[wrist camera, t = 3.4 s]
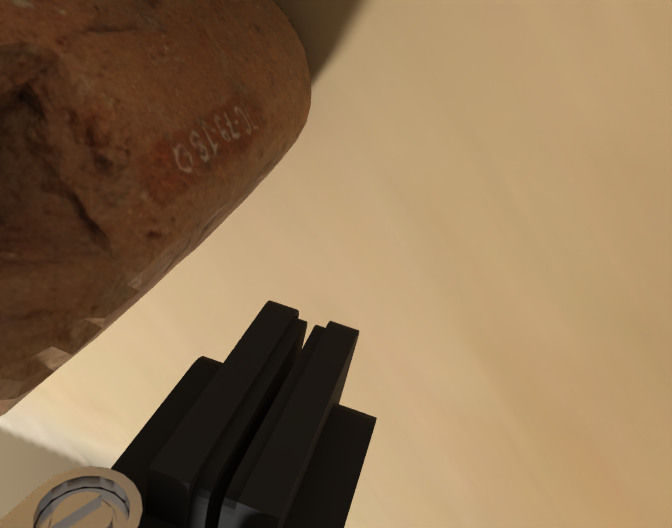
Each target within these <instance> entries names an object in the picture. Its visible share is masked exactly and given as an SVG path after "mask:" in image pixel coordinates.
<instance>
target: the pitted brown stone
mask: <svg viewBox="0 0 672 528" xmlns="http://www.w3.org/2000/svg"><path fill="white" fill-rule="evenodd" d="M310 104H311V84H310V72H309V68H308V64H307V61H306V52H305V49H304V47H303V45H302V43H301V40H300V38H299V37H298V35H297V33H296V32H295V30H294V28H293V27H292V25H291V23H290V22H289V20H288V18H287V17H286V15H285V14H284V12H283V11H282V10H281V9H280V8H279V7H278V6H277V5H276V3H275V2H274V1H273V0H0V416H2V415H4V414H5V413H7V412H8V411H9V410H10V409H11V408H12V407H14V406H15V405H16V404H17V403H18V402H19V401H21V400H22V399H23V398H24V397H25V396H26V395H28V394H29V393H30V392H31V391H32V390H33V389H35V388H36V387H37V386H38V385H39V384H40V383H42V382H43V381H44V380H45V379H46V378H47V377H49V376H50V375H51V374H52V373H53V372H55V371H56V370H57V369H58V368H59V367H61V366H62V365H63V364H64V363H66V362H67V361H68V360H69V359H71V358H72V357H73V356H74V355H76V354H77V353H78V352H79V351H81V350H82V349H83V348H84V347H85V346H87V345H88V344H89V343H90V342H92V341H93V340H94V339H95V338H97V337H98V336H99V335H100V334H101V333H102V332H103V331H104V330H106V329H107V328H108V327H109V326H110V325H111V324H112V323H113V322H115V321H116V320H117V319H118V318H119V317H120V316H121V315H122V314H124V313H125V312H126V311H127V310H128V309H129V308H130V307H131V306H133V305H134V304H135V303H136V302H137V301H138V300H139V299H140V298H142V297H143V296H144V295H145V294H146V293H147V292H148V291H149V290H151V289H152V288H153V287H154V286H155V285H156V284H157V283H158V282H159V281H160V280H161V279H162V278H163V277H164V276H165V275H166V274H167V273H168V272H170V271H171V270H172V269H173V268H174V267H175V266H176V265H177V264H178V263H179V262H181V261H182V260H183V259H184V258H185V257H186V256H188V255H189V254H190V253H191V252H192V251H194V250H195V249H196V248H197V247H198V246H199V245H200V244H201V243H202V242H203V241H204V240H205V239H206V238H207V237H208V236H209V235H210V234H211V233H212V232H213V231H214V230H215V229H216V228H217V227H218V226H219V225H220V224H221V223H222V222H223V221H224V220H225V219H226V218H227V217H228V216H229V215H230V214H231V213H232V212H233V211H234V210H235V209H236V208H237V207H238V206H239V205H240V204H241V203H242V202H243V201H244V200H245V199H246V198H247V197H248V196H249V195H250V194H251V193H252V192H253V190H254V189H255V188H256V187H257V186H258V185H259V183H260V182H261V181H262V180H263V179H264V178H265V177H266V176H267V175H268V174H269V173H270V172H271V171H272V170H273V168H274V167H275V166H276V165H277V164H278V163H279V161H280V160H281V159H282V158H283V157H284V155H285V154H286V153H287V152H288V150H289V149H290V148H291V147H292V145H293V144H294V143H295V142H296V140H297V138H298V137H299V135H300V133H301V131H302V129H303V128H304V126H305V124H306V121H307V117H308V113H309V109H310Z"/></svg>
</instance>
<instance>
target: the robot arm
mask: <svg viewBox="0 0 672 528" xmlns="http://www.w3.org/2000/svg"><path fill="white" fill-rule="evenodd" d="M298 317H299V311H298V310H297V309H294V308H291V307H288V306H285V305H282V304H279V303H276V302H273V301H268V302H267V303H266V304H265V305H264V307H263V308H262V310H261V311H260V312H259V314H258V315H257V317H256V318H255V319H254V321H253V322H252V324H251V325H250V326H249V328H248V329H247V331H246V332H245V333H244V335H243V336H242V338H241V339H240V340H239V342H238V343H237V345H236V346H235V347H234V349H233V350H232V352H231V353H230V354H229V356H228V357H227V359H226V360H225V361H224V363H221V362H218V361H216V360H213V359H210V358H207V357H204V356H202V357H200V358H198V359H197V360H196V361H195V362H194V363H193V365H192V366H191V367H190V368H189V370H188V371H187V372H186V373H185V375H184V376H183V377H182V379H181V380H180V381H179V382H178V384H177V385H176V386H175V387H174V389H173V390H172V391H171V393H170V394H169V395H168V396H167V398H166V399H165V400H164V402H163V403H162V404H161V405H160V407H159V408H158V409H157V410H156V412H155V413H154V414H153V416H152V417H151V418H150V419H149V421H148V422H147V423H146V424H145V426H144V427H143V428H142V430H141V431H140V432H139V433H138V435H137V436H136V437H135V438H134V440H133V441H132V442H131V444H130V445H129V446H128V447H127V449H126V450H125V451H124V452H123V454H122V455H121V456H120V458H119V459H118V460H117V461H116V463H115V464H114V465H113V466H112V468H111V469H109V468H103V467H92V466H89V467H82V468H75V469H71V470H68V471H66V472H63V473H61V474H58V475H55V476H54V477H52V478H51V479H49V480H48V481H46V482H45V483H43V484H42V485H40V486H39V487H38V488H37V489H35V491H33V492H32V493H31V494H30V495H29V496H27V497H26V498H25V499H24V500H23V501H22V502H21V503H19V504H18V505H17V506H16V507H15V508H14V509H13V510H12V511H10V512H9V513H8V514H7V515H6V516H5V517H3V518H2V519H1V520H0V528H344V526H345V522H346V519H347V516H348V512H349V509H350V506H351V502H352V499H353V496H354V493H355V489H356V486H357V483H358V479H359V476H360V473H361V469H362V466H363V463H364V459H365V456H366V453H367V449H368V446H369V443H370V440H371V436H372V433H373V430H374V426H375V423H376V419H377V418H376V417H373V416H370V415H367V414H365V413H362V412H359V411H356V410H353V409H351V408H348V407H345V406H342V405H339V402H340V398H341V395H342V391H343V388H344V384H345V381H346V377H347V374H348V370H349V367H350V363H351V360H352V356H353V353H354V349H355V346H356V342H357V339H358V335H359V330H356V329H353V328H350V327H347V326H344V325H341V324H338V323H335V322H332V321H329V323H328V324H327V326H326V328H324V327H321V326H318V325H315V326H314V328H313V330H312V332H311V334H310V335H309V337H308V339H307V341H306V343H305V345H304V347H303V348H302V346H303V342H304V337H305V333H306V328H307V321H304V320H301V319H298Z"/></svg>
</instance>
